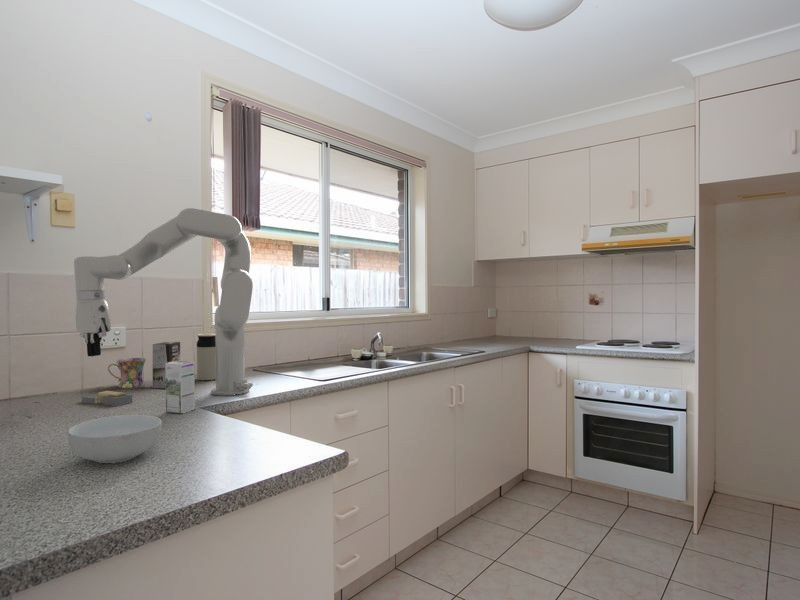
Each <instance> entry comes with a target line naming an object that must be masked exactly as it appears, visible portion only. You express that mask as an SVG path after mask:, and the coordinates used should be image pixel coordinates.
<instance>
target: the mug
mask: <svg viewBox="0 0 800 600" xmlns="http://www.w3.org/2000/svg"><path fill="white" fill-rule="evenodd" d="M146 360H147V359H146V358H145V357H127V358H120V359H117V360H116V363H112V364H109V365H108V367H107V371H108V372H109V374H110V375H111V376H113V378H115V379H117V380H118V381H117V382H118V388H122V389H127V388H128V389H129V388H139V389H143V388H144V387H145V386H146V384H145V383H144V380H143V379H144V378H143V369H144V365H145V363H146ZM111 366H115V367H117V368H118V370H119V371H120V377H119V376H116V375H115V374H114V373H112V371H111V369H110V367H111Z"/></svg>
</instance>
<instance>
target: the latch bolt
mask: <svg viewBox="0 0 800 600" xmlns="http://www.w3.org/2000/svg"><path fill="white" fill-rule="evenodd" d="M126 394H127V393H126V392H121V391H120V392H119V391H111V390H105V391H104V390H103V391H99V392H97V398H98V399H97V402H98V403H99V404H100V403H101V404H103V396H111V397H121V396H126Z"/></svg>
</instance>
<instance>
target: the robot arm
mask: <svg viewBox="0 0 800 600" xmlns="http://www.w3.org/2000/svg"><path fill="white" fill-rule="evenodd" d="M197 236H198V237H205V238H209V239H216V240H217V241H218V242H219V243H221V244H222V246H223V248H224V253H225V255H224V262H223V263H224V264H223V271H222V277H221V279H220V288H221V294H220V295H221V296H220V303H219V305H218V306H217V308H215V312H214V329H215V331H214V334H215V339H216V379H215V387H214V388H211V390H210V394H211V395H213V396H214V395H215V396H219V397H220V396H222V397H223V396H224V395H228V396H235V395H234V394H239V395H243V394H242V393H244V394H247V393H248V391H249V392H250V389H251V388H252V387H253V386H254V385H253V383H252V382H248V378H245V377H246V376H245V366H246V365H245V363H246V362H245V354H246V353H245V347H246V346H245V342H246V341H245V325H246V324H247V322H248V321H249V320H248V319H249V316H250V310H251V304H252V295H253V289H254V288H253V287H254V286H253V285H254V284H253V279H252V277H251V275H250V267H251V258H252V249H251V245H250V242H249V239H248V238H247V236H246V235H245V233H244V232H243V231H242V224H241V222H240V221H239V220H238V219H237V217H235V216H233V215H230V214H226V213H221V212H214V211H209V210H203V209H200V208H193V207H191V208H190V207H189V208H185V209H182V210H180V212H178V215H176V216H175V217H173V218H171V219H170V220H168V221H167V222H165V223H163V224H161V225H160V226H158V227H156V228H154V229H152V230H151V231H149V232H148V233H146V234H145V236H143V238H142V239H141V240H139V241H138V242H137V243H136V244H134V245H133V246H131V247H130V248H128V249H127V250H125V251H123V252H122V253H120V254H118V255H116V254H114V255H107V256H93V255H92V256H88V255H87V256H77V257H76V258H74V261H73V269H74V271H73V272H74V282H75V283H74V285H75V300H76V301H75V302H76V305H75V328H76V331H77V332H78V333H79V336H80V337H81V338H84V342H85V344H86V352H87V357H97V356H101V354H102V352H101V351H102V350H101V343H102V339H103V338H104V337H106V336H107V333H109V332H110V331H112V326H111V325H112V323H111V317H110V311H109V305H108V302H107V300H106V296H105V295H106V294H105V279H110V280H116V281H122V280H125V279H127V278H129V277H130V276H132V275H134V274H136V273H137V272H139V271H140V270H142V269H143V268H145V267H148V266H149V265H150V264H152V263H154V262H155V261H157V260H159V259H161V258H163V257H165V256H166V255H168V254H169V253H171V252H172V251H174V250H175V249H177V248H179V247H181V246H182V245H184V244H185V243H187V242H189V241H191V240H192V239H194V238H196V237H197ZM246 392H247V393H246Z"/></svg>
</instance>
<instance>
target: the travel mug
mask: <svg viewBox="0 0 800 600" xmlns="http://www.w3.org/2000/svg"><path fill="white" fill-rule="evenodd" d="M197 337H198V340H197V341H196V379H197V380H198V381H200V380H210V381H215V380H216V339H215V333H198V334H197ZM214 379H215V380H214Z"/></svg>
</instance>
